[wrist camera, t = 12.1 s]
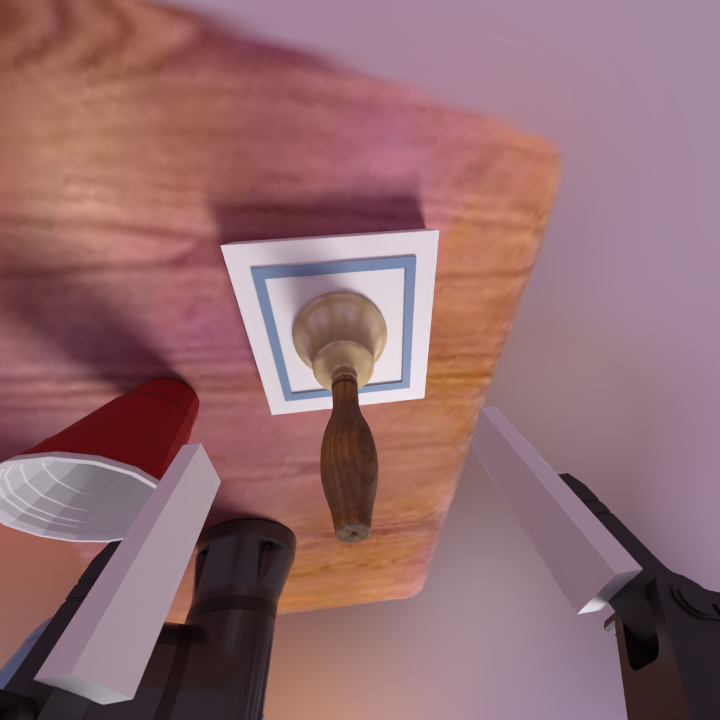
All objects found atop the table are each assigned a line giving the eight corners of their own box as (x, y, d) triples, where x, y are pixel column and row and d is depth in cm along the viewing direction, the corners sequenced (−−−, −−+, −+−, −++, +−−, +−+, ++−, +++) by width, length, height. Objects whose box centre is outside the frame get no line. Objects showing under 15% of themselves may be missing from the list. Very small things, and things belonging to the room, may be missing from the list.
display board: (277, 396, 29) (271, 416, 26) (234, 241, 21) (219, 245, 18) (415, 382, 30) (424, 399, 27) (426, 228, 22) (440, 230, 19)
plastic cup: (182, 449, 31) (108, 566, 21) (90, 393, 26) (-68, 511, 16) (247, 406, 29) (201, 513, 19) (161, 336, 24) (31, 429, 14)
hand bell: (379, 377, 25) (439, 575, 11) (294, 375, 24) (244, 591, 10) (394, 295, 21) (514, 445, 7) (291, 286, 20) (205, 447, 6)
